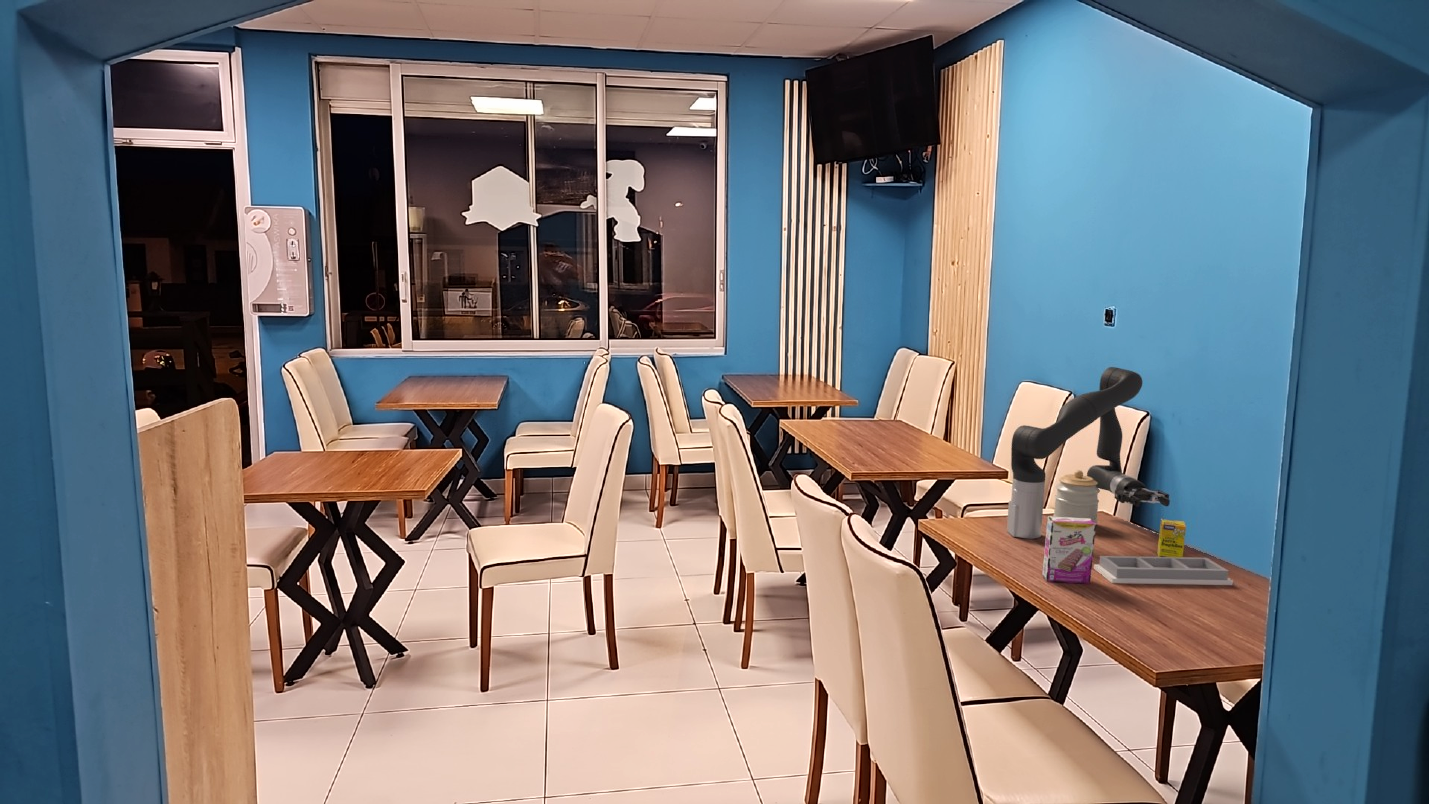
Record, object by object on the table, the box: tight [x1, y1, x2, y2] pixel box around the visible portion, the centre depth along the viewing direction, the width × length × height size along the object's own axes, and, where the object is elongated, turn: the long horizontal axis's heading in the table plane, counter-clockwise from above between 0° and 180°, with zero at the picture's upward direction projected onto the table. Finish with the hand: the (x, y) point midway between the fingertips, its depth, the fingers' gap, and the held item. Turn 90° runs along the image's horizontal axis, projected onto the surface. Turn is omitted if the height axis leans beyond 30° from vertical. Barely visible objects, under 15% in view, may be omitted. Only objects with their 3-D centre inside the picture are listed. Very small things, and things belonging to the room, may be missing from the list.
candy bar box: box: [1041, 515, 1097, 584], centre depth 231 cm, size 11×5×16 cm, turn 84°
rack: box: [1093, 555, 1234, 586], centre depth 236 cm, size 31×11×4 cm, turn 90°
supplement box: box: [1156, 518, 1187, 557], centre depth 249 cm, size 6×6×11 cm
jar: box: [1053, 469, 1101, 525], centre depth 282 cm, size 13×13×18 cm
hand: (1153, 503), depth 260 cm, fingers open, 8 cm apart
